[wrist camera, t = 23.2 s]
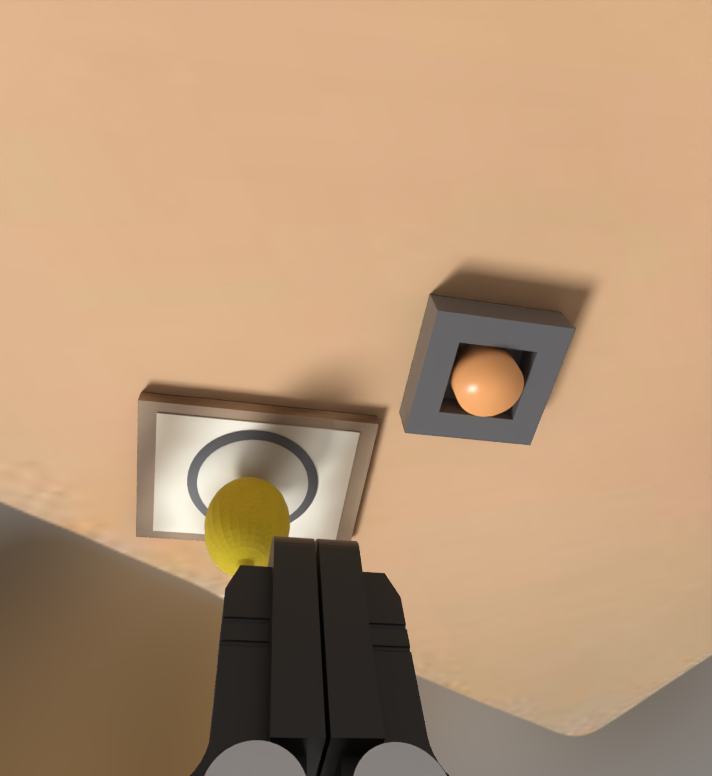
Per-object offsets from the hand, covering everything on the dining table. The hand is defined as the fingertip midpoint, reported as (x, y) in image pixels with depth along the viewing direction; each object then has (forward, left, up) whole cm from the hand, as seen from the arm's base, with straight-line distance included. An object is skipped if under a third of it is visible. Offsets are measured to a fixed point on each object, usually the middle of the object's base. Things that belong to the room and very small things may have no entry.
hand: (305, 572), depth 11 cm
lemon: (0, +21, -28) cm, 35 cm away
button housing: (-14, +10, -29) cm, 34 cm away
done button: (-14, +10, -28) cm, 33 cm away
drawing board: (0, +21, -29) cm, 36 cm away
